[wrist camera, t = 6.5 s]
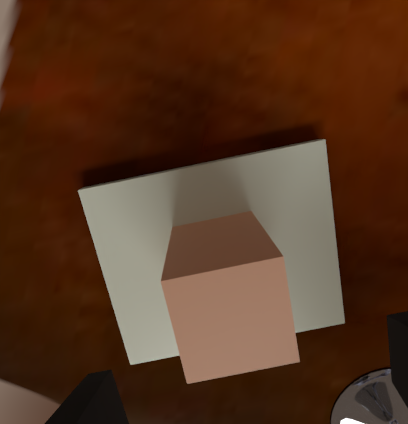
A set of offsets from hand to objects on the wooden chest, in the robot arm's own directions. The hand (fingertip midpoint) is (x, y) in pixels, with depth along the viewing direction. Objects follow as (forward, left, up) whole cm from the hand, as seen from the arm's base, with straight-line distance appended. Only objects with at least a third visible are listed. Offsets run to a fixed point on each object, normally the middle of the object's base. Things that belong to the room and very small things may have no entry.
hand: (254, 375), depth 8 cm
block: (0, 0, -9) cm, 9 cm away
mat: (0, 0, -9) cm, 9 cm away
